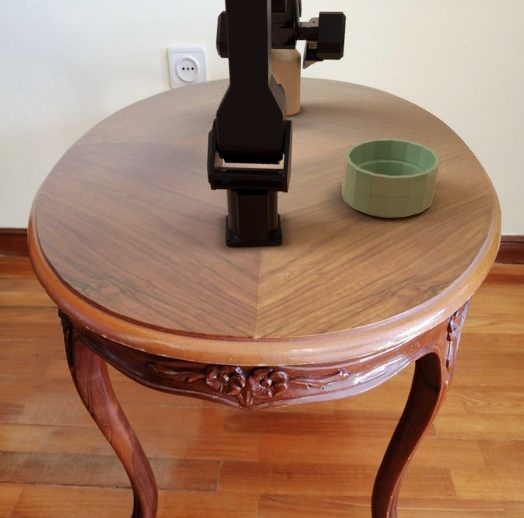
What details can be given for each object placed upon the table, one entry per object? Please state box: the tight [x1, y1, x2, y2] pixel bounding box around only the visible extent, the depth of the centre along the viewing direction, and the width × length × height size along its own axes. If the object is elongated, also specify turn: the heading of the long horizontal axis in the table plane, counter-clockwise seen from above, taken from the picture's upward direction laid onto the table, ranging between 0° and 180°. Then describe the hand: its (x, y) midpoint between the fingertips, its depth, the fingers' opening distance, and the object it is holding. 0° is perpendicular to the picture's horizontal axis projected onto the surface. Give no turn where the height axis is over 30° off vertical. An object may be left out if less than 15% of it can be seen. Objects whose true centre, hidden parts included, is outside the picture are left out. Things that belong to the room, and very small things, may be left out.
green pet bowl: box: [341, 137, 441, 219], centre depth 73 cm, size 11×11×6 cm
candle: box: [271, 48, 302, 117], centre depth 95 cm, size 6×6×10 cm
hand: (284, 65), depth 95 cm, fingers open, 6 cm apart
